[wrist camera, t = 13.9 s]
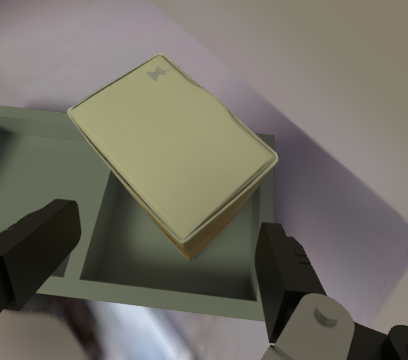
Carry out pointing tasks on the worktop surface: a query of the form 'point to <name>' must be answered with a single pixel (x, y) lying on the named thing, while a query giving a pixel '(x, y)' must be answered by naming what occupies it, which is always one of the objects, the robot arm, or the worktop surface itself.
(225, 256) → the carton tray
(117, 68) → the worktop surface
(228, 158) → the skincare box
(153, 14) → the worktop surface
